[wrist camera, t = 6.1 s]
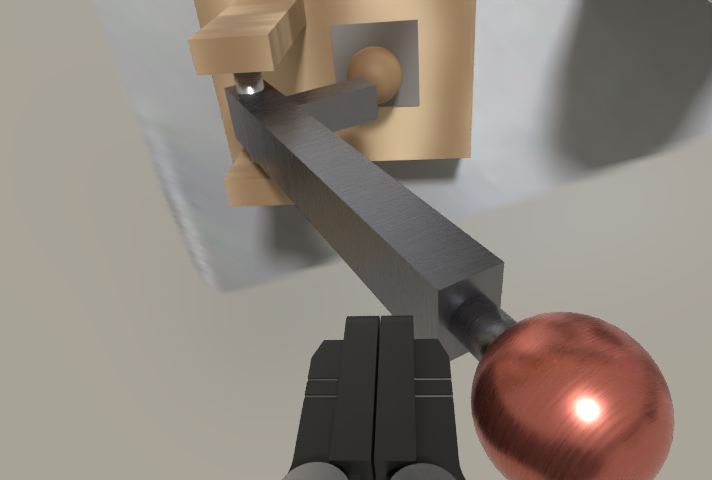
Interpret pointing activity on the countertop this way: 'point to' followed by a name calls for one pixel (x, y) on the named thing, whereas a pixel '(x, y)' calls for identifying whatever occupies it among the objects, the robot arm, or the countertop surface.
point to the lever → (462, 298)
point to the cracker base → (392, 124)
